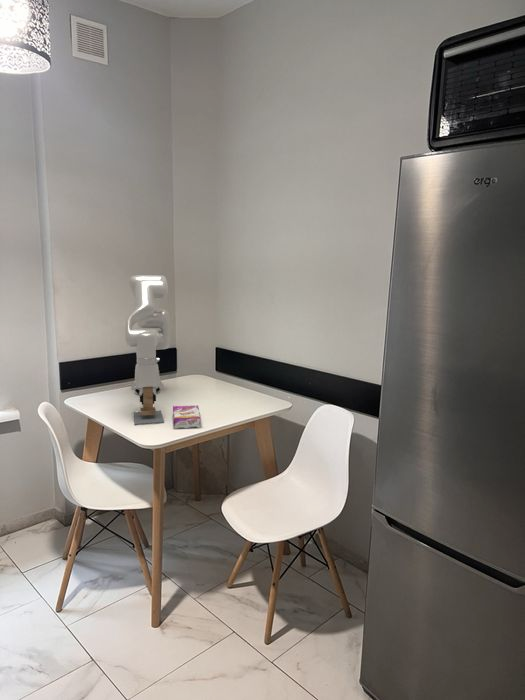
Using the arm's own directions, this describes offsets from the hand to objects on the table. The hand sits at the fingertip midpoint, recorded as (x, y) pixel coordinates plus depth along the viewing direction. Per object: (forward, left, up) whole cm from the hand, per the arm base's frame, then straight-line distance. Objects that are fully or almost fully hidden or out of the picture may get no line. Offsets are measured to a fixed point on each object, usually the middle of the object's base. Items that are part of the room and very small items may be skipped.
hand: (147, 402), depth 218 cm
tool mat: (0, 0, -7) cm, 7 cm away
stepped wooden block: (0, 0, -4) cm, 4 cm away
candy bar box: (0, +16, -4) cm, 16 cm away
